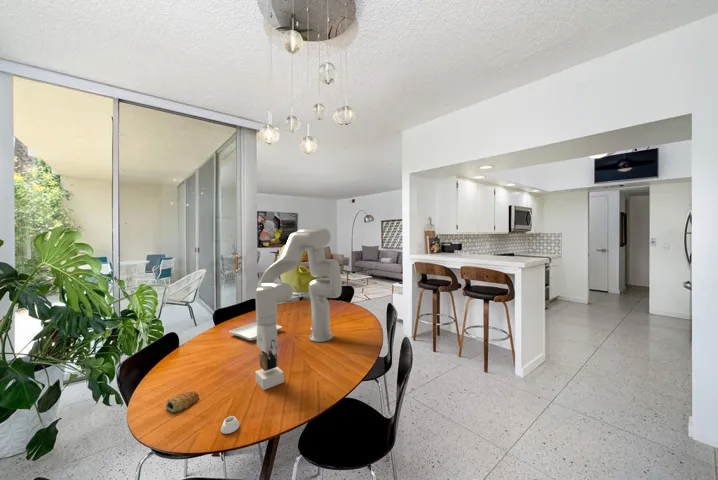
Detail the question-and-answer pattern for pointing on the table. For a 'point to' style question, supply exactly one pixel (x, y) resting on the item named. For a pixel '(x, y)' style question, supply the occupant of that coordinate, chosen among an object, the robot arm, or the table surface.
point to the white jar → (229, 425)
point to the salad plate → (248, 331)
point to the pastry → (181, 401)
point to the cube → (265, 360)
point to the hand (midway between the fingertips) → (268, 365)
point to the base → (269, 377)
